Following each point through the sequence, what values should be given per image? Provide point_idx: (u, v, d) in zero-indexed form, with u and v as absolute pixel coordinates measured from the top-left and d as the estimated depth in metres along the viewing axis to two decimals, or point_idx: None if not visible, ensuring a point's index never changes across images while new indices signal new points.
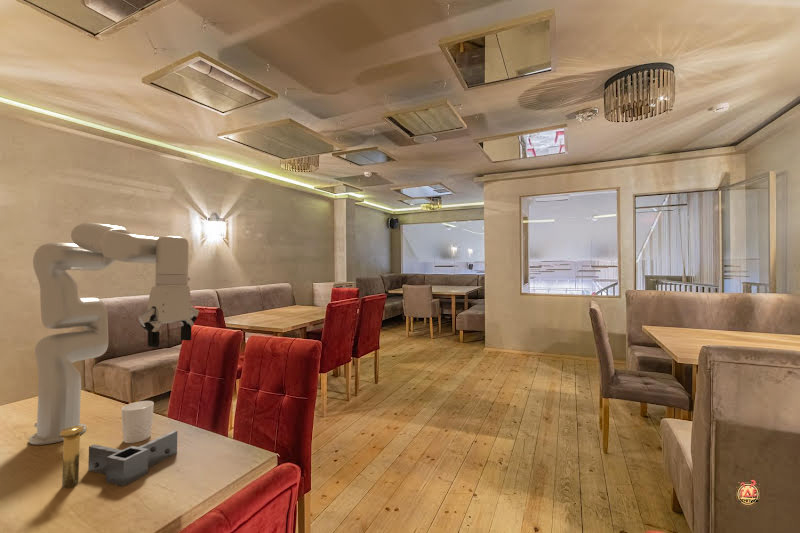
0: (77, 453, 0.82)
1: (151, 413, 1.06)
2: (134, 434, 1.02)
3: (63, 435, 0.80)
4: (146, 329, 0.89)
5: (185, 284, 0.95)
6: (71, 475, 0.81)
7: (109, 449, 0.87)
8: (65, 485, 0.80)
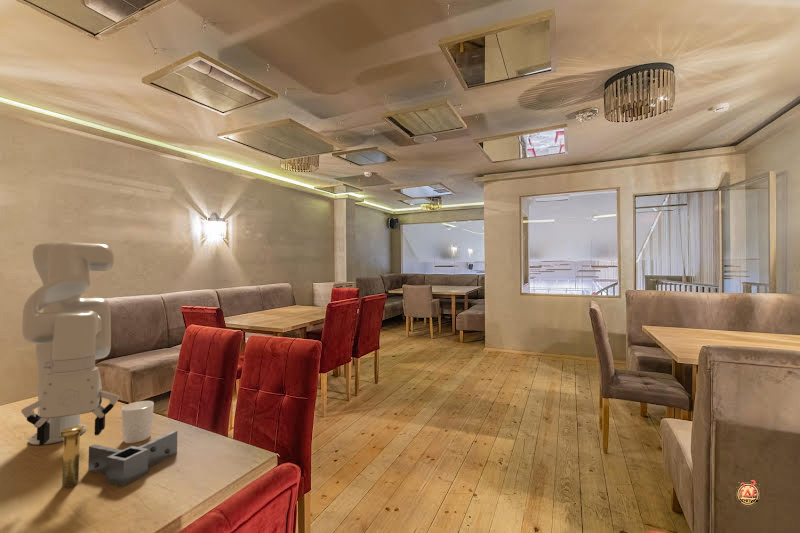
0: (77, 453, 0.82)
1: (151, 413, 1.06)
2: (134, 434, 1.02)
3: (63, 435, 0.80)
4: None
5: None
6: (71, 475, 0.81)
7: (109, 449, 0.87)
8: (65, 485, 0.80)
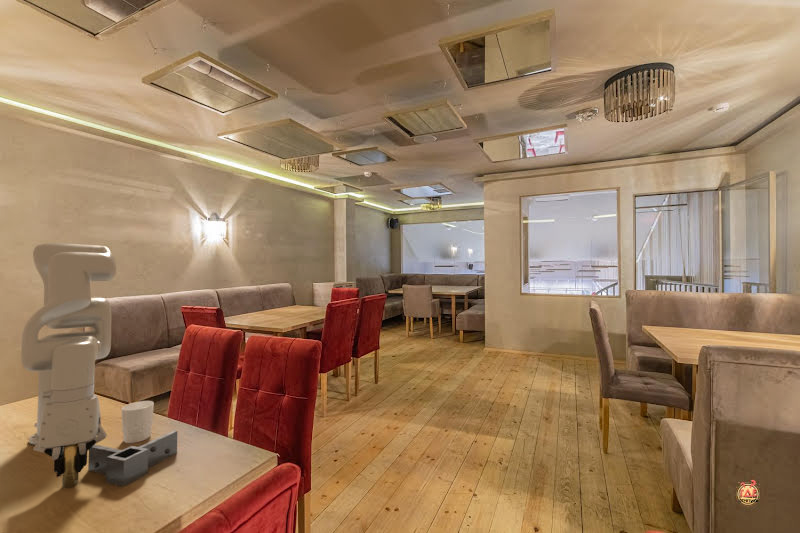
0: (77, 453, 0.82)
1: (151, 413, 1.06)
2: (134, 434, 1.02)
3: None
4: None
5: None
6: (71, 475, 0.81)
7: (109, 449, 0.87)
8: (65, 485, 0.80)
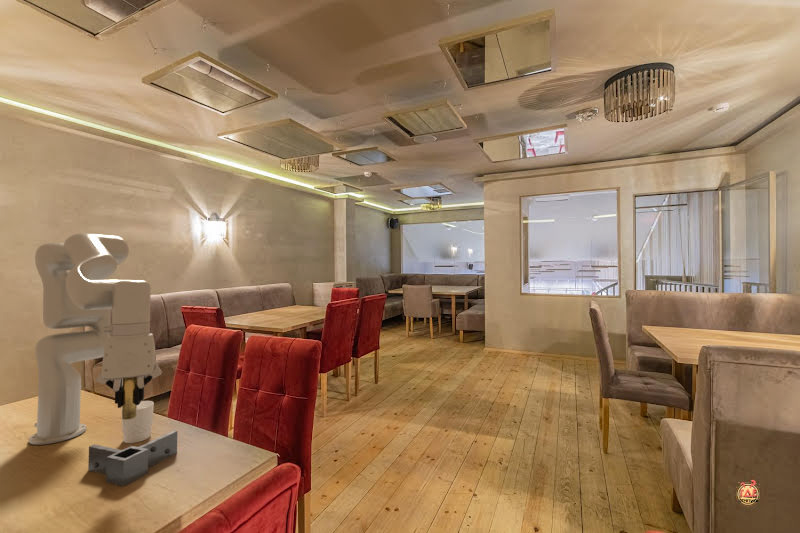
0: (135, 387, 0.85)
1: (151, 413, 1.06)
2: (134, 434, 1.02)
3: None
4: None
5: None
6: (130, 407, 0.84)
7: (109, 449, 0.87)
8: (125, 416, 0.84)
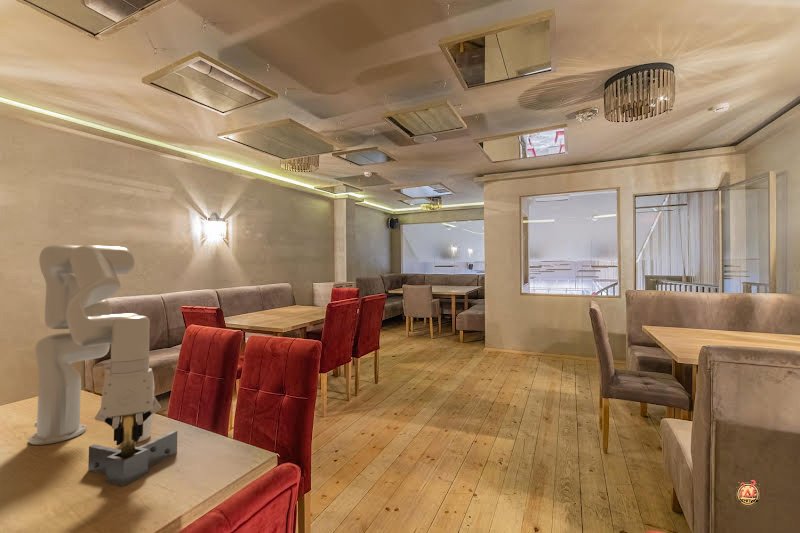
0: (134, 423, 0.85)
1: None
2: None
3: None
4: (145, 419, 0.86)
5: None
6: (129, 444, 0.84)
7: (109, 449, 0.87)
8: (124, 453, 0.83)
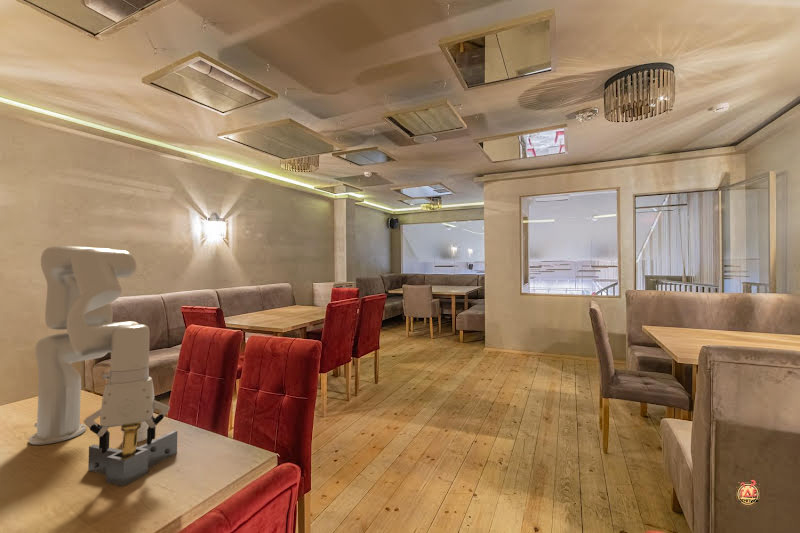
0: (135, 447, 0.85)
1: None
2: None
3: (124, 429, 0.83)
4: (157, 423, 0.87)
5: None
6: None
7: (109, 449, 0.87)
8: None
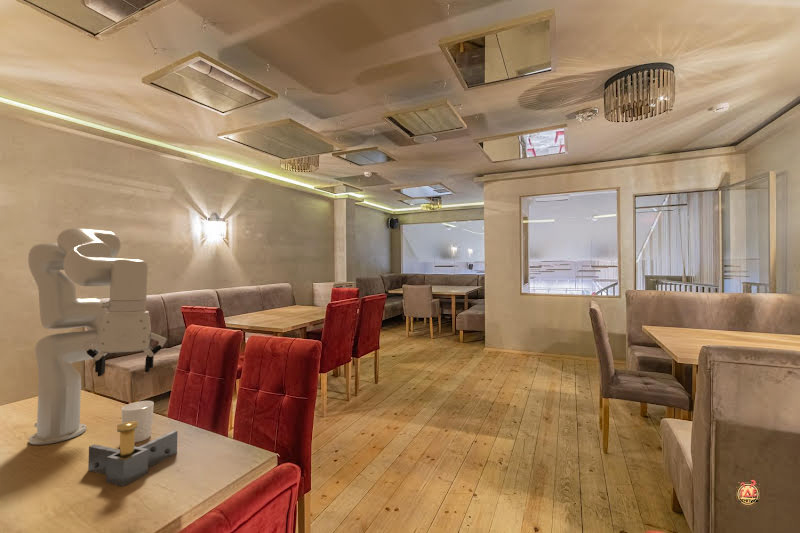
0: (133, 447, 0.85)
1: (151, 413, 1.06)
2: None
3: (120, 430, 0.83)
4: (155, 353, 0.92)
5: None
6: None
7: (109, 449, 0.87)
8: None
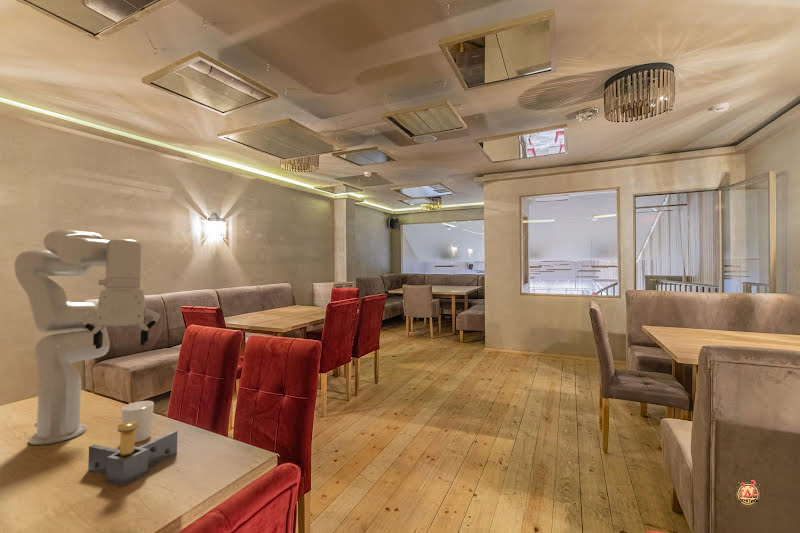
0: (133, 447, 0.85)
1: (151, 413, 1.06)
2: None
3: (121, 430, 0.83)
4: (150, 327, 0.98)
5: None
6: None
7: (109, 449, 0.87)
8: None
